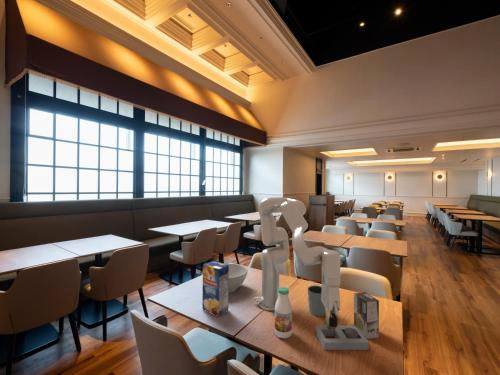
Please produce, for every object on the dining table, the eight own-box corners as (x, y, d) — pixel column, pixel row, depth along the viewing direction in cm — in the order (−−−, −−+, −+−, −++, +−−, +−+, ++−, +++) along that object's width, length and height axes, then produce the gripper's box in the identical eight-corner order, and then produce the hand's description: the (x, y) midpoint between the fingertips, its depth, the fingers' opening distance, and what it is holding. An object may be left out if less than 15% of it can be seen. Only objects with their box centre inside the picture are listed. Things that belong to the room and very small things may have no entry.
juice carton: (202, 309, 123) (202, 264, 123) (212, 303, 129) (212, 261, 129) (218, 316, 116) (219, 269, 116) (228, 310, 122) (228, 265, 122)
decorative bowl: (255, 286, 153) (255, 268, 153) (230, 303, 130) (231, 281, 130) (223, 277, 167) (223, 260, 167) (196, 291, 144) (197, 272, 145)
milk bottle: (273, 328, 107) (273, 285, 107) (289, 328, 107) (289, 285, 107) (276, 339, 99) (276, 293, 99) (293, 338, 100) (294, 292, 100)
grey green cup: (327, 309, 125) (327, 286, 125) (327, 319, 115) (327, 295, 115) (308, 305, 128) (308, 284, 128) (306, 315, 118) (306, 291, 118)
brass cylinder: (327, 329, 96) (327, 308, 96) (324, 323, 100) (324, 303, 101) (338, 329, 96) (338, 308, 96) (334, 323, 101) (334, 303, 101)
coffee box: (379, 337, 101) (379, 300, 101) (366, 339, 100) (367, 302, 100) (365, 325, 110) (365, 291, 110) (353, 327, 109) (353, 292, 109)
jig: (324, 349, 93) (324, 339, 93) (316, 332, 104) (316, 323, 104) (368, 349, 93) (368, 339, 93) (355, 332, 104) (355, 323, 104)
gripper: (316, 272, 107) (316, 312, 107) (329, 288, 90) (329, 335, 90) (332, 272, 107) (332, 312, 107) (348, 288, 90) (348, 335, 90)
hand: (330, 322), depth 98 cm, fingers closed on brass cylinder, 4 cm apart
